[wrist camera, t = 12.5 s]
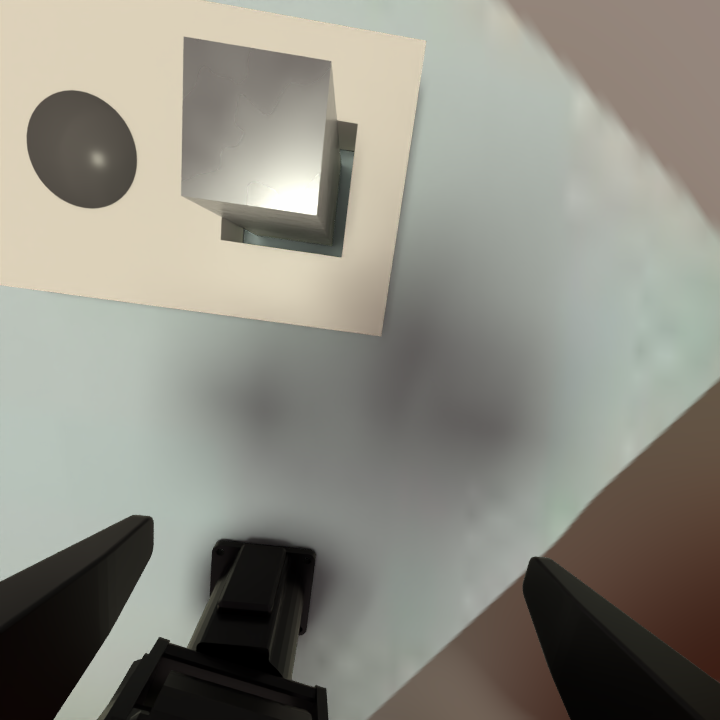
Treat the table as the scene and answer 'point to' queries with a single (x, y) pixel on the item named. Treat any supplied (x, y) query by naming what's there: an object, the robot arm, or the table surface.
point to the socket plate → (164, 161)
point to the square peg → (261, 139)
